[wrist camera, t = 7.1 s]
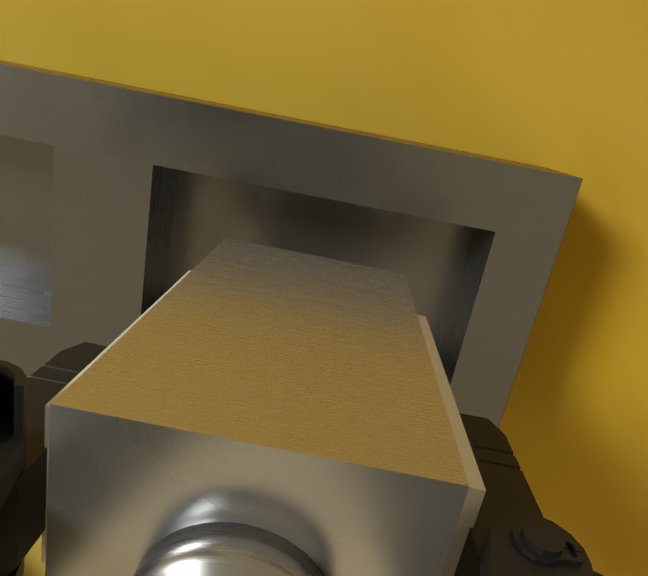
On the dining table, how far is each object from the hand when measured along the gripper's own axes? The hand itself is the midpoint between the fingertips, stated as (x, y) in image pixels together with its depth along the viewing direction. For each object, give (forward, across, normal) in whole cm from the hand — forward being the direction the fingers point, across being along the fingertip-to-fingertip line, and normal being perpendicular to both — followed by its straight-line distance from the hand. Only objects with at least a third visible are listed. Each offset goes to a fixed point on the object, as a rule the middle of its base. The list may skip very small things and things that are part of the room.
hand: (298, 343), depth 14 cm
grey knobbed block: (0, 0, 0) cm, 0 cm away
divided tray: (+7, -7, 0) cm, 10 cm away
